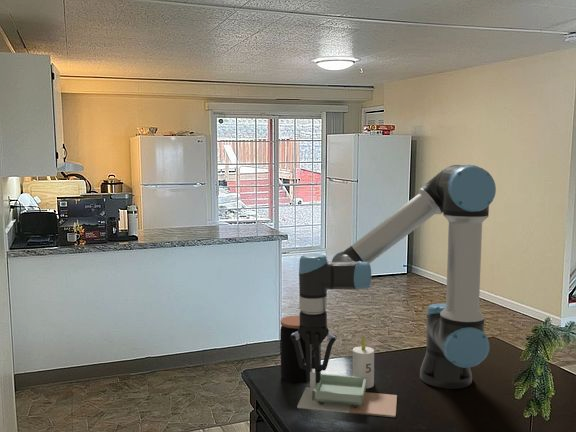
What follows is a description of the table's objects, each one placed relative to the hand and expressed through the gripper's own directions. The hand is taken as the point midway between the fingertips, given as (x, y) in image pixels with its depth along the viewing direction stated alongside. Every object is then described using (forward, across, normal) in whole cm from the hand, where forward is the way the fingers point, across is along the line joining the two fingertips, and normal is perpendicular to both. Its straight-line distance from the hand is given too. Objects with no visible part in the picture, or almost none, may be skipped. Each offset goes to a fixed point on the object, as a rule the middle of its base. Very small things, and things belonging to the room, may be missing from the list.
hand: (313, 393), depth 151 cm
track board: (+2, -10, 0) cm, 10 cm away
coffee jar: (+2, +7, -14) cm, 16 cm away
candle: (+2, -13, -13) cm, 18 cm away
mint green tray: (+2, -7, 0) cm, 8 cm away
